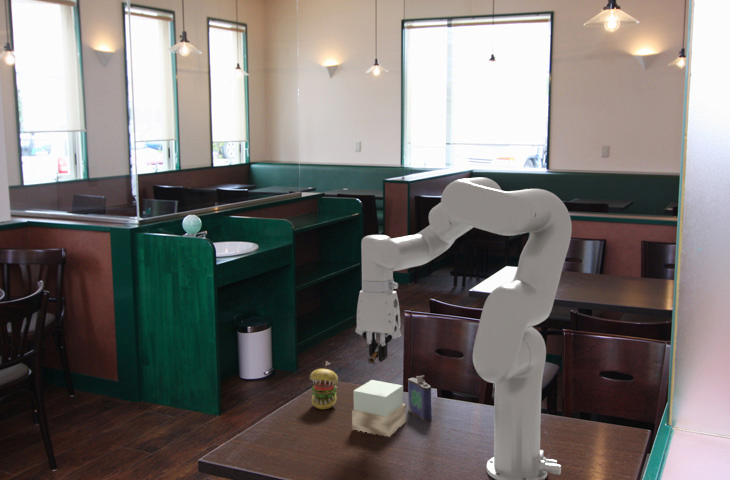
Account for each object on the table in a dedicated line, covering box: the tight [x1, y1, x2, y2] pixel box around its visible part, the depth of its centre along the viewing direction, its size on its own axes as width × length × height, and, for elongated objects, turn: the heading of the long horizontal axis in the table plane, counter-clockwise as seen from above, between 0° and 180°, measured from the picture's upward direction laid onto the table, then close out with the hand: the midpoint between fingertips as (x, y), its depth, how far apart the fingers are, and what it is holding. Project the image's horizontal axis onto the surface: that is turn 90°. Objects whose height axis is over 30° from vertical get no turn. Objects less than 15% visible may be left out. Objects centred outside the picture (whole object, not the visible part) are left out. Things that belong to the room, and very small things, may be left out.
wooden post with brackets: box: [366, 343, 380, 366], centre depth 171 cm, size 2×8×4 cm, turn 151°
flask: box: [407, 375, 433, 423], centre depth 179 cm, size 9×3×11 cm, turn 28°
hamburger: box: [309, 360, 339, 410], centre depth 186 cm, size 8×7×12 cm
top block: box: [352, 379, 404, 417], centre depth 173 cm, size 9×9×5 cm
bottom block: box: [351, 403, 407, 438], centre depth 173 cm, size 10×10×5 cm
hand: (378, 359), depth 171 cm, fingers closed on wooden post with brackets, 1 cm apart
